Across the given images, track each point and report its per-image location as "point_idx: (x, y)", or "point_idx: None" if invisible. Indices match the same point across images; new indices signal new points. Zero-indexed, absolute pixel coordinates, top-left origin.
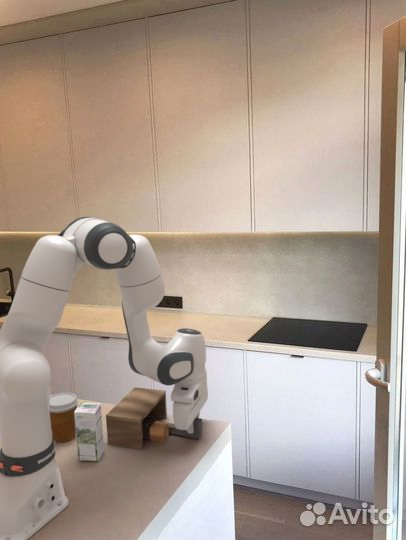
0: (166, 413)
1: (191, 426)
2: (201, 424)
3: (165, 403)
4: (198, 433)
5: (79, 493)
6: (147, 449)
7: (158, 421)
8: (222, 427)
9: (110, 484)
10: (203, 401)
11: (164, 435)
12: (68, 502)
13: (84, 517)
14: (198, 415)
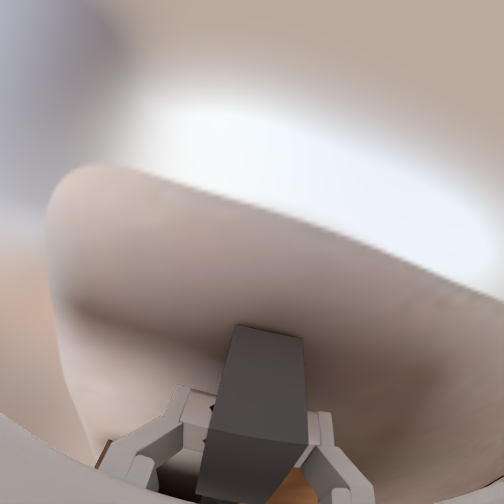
0: (103, 454)
1: (349, 466)
2: (237, 392)
3: None
4: (302, 371)
5: (481, 483)
6: None
7: (204, 501)
8: (102, 178)
9: (485, 467)
10: (27, 486)
11: (301, 478)
12: (500, 480)
13: None
14: (155, 443)
